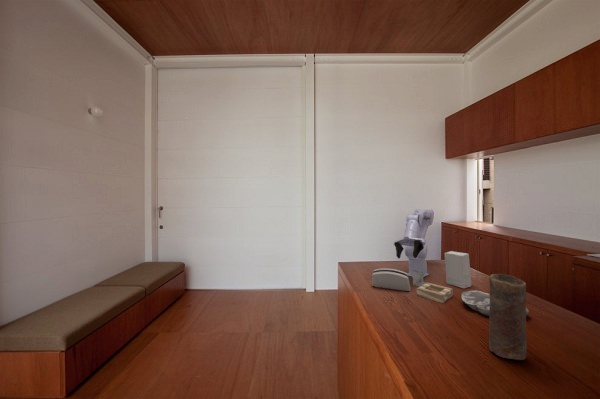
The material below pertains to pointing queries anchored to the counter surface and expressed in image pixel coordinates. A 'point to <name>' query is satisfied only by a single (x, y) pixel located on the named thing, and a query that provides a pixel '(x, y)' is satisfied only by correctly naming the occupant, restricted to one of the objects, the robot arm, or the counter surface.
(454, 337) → the counter surface
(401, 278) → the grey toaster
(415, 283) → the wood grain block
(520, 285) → the brown tall cylinder
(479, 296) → the brain slice
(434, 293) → the well block
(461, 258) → the skincare box
